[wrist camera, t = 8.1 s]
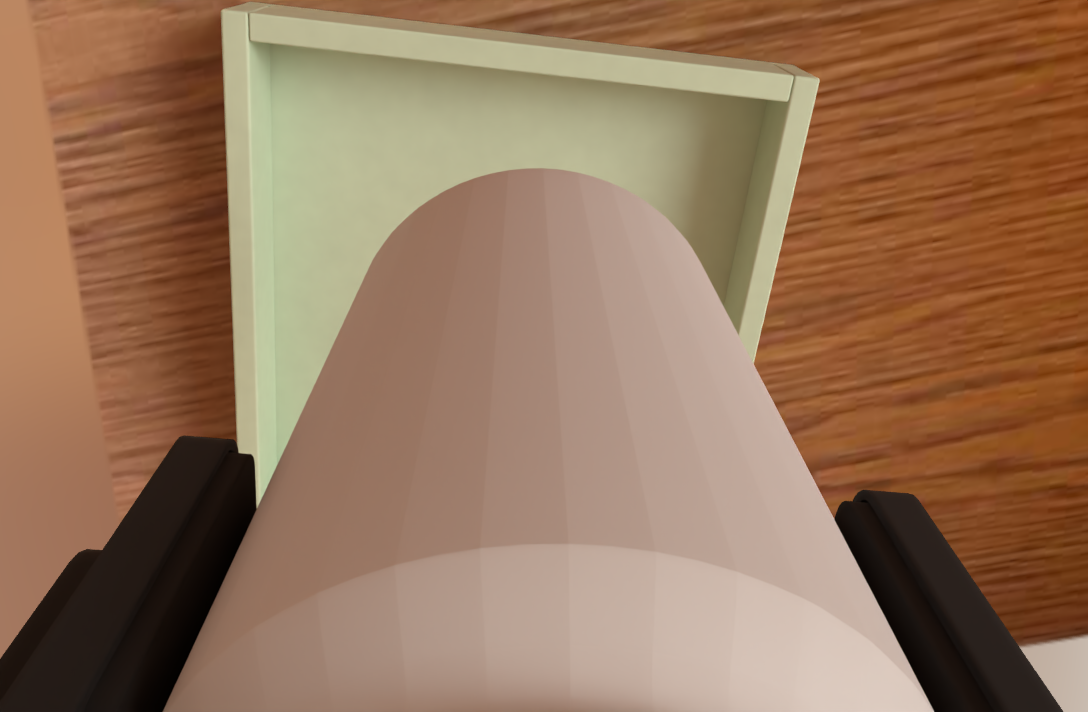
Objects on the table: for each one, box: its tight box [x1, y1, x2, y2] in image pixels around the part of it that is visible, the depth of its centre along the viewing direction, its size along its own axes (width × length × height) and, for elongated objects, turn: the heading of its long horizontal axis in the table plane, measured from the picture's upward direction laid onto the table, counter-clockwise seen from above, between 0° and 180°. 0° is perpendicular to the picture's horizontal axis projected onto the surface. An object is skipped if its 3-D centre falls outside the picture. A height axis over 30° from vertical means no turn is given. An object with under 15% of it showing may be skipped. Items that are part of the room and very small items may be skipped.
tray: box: [221, 2, 819, 508], centre depth 31 cm, size 18×18×3 cm
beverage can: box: [163, 168, 934, 712], centre depth 11 cm, size 6×6×12 cm
